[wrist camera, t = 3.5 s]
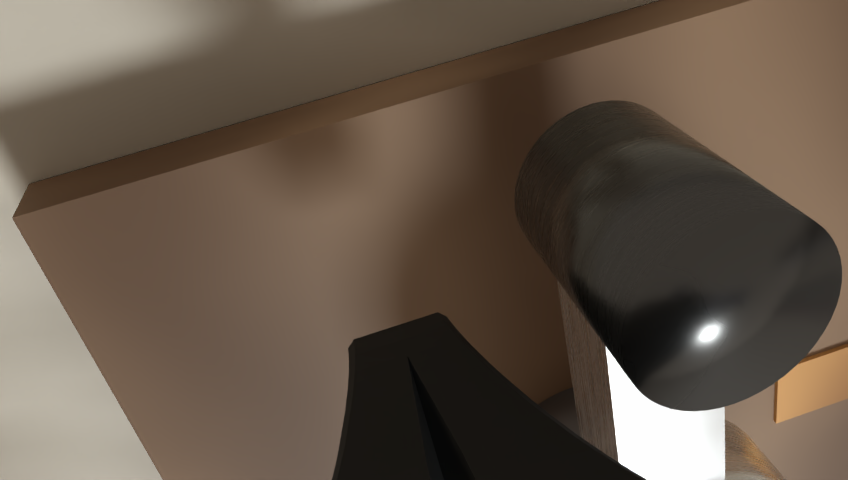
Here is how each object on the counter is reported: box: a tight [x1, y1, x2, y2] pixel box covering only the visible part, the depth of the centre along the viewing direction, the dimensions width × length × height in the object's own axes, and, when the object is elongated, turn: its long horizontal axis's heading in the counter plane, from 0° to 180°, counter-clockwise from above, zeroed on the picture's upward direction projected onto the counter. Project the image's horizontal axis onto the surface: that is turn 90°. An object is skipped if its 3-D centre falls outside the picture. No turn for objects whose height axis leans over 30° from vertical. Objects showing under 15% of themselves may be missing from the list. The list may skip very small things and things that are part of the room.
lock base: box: [12, 0, 848, 480], centre depth 16 cm, size 18×18×3 cm
